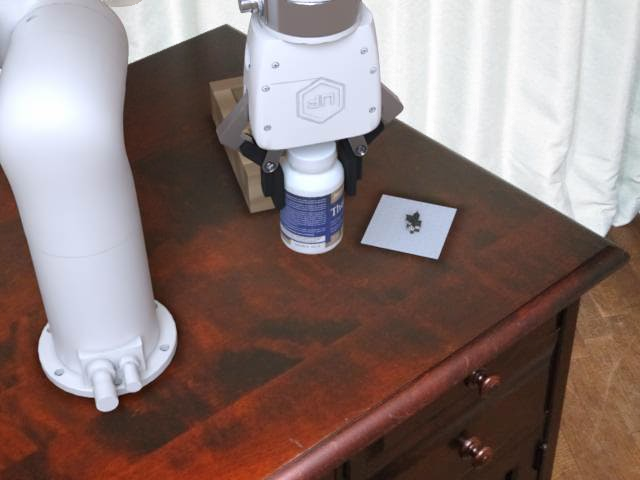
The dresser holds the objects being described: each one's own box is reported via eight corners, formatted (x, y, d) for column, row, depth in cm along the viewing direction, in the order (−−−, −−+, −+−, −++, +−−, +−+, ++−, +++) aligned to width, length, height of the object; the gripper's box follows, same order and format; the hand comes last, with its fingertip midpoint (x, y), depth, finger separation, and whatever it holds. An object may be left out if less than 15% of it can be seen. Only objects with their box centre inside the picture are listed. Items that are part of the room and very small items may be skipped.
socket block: (340, 194, 122) (339, 157, 118) (250, 213, 120) (247, 176, 116) (294, 102, 134) (292, 66, 131) (212, 118, 132) (208, 82, 129)
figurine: (399, 217, 119) (399, 203, 117) (425, 222, 118) (426, 208, 117) (392, 231, 117) (393, 217, 116) (419, 237, 116) (419, 223, 115)
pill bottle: (342, 257, 96) (344, 165, 90) (278, 256, 96) (275, 164, 90) (343, 215, 100) (345, 124, 94) (282, 214, 100) (279, 123, 94)
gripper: (204, 44, 78) (220, 241, 90) (440, 7, 82) (424, 202, 94) (182, -9, 84) (200, 184, 96) (404, -42, 87) (394, 148, 99)
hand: (311, 191), depth 95 cm, fingers closed on pill bottle, 5 cm apart
